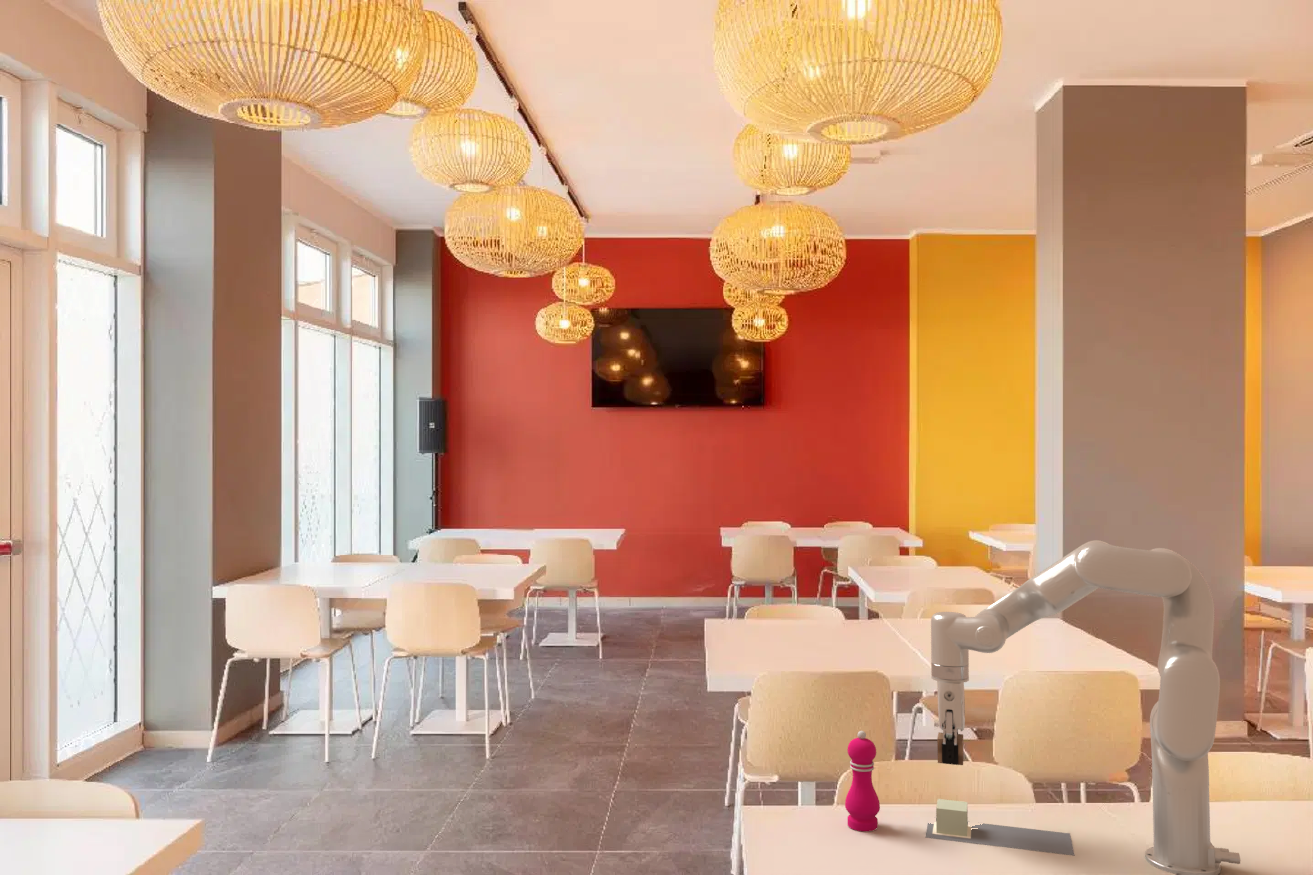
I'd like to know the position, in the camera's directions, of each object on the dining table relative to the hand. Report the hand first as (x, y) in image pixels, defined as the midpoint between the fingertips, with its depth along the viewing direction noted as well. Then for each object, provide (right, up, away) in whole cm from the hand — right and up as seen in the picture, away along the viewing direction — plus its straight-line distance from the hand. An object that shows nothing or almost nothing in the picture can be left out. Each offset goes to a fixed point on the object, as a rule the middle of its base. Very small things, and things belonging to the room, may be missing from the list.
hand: (950, 758), depth 197 cm
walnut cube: (0, 0, 0) cm, 0 cm away
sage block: (0, -15, -1) cm, 15 cm away
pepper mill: (-18, -15, +3) cm, 24 cm away
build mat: (+9, -15, -4) cm, 18 cm away
